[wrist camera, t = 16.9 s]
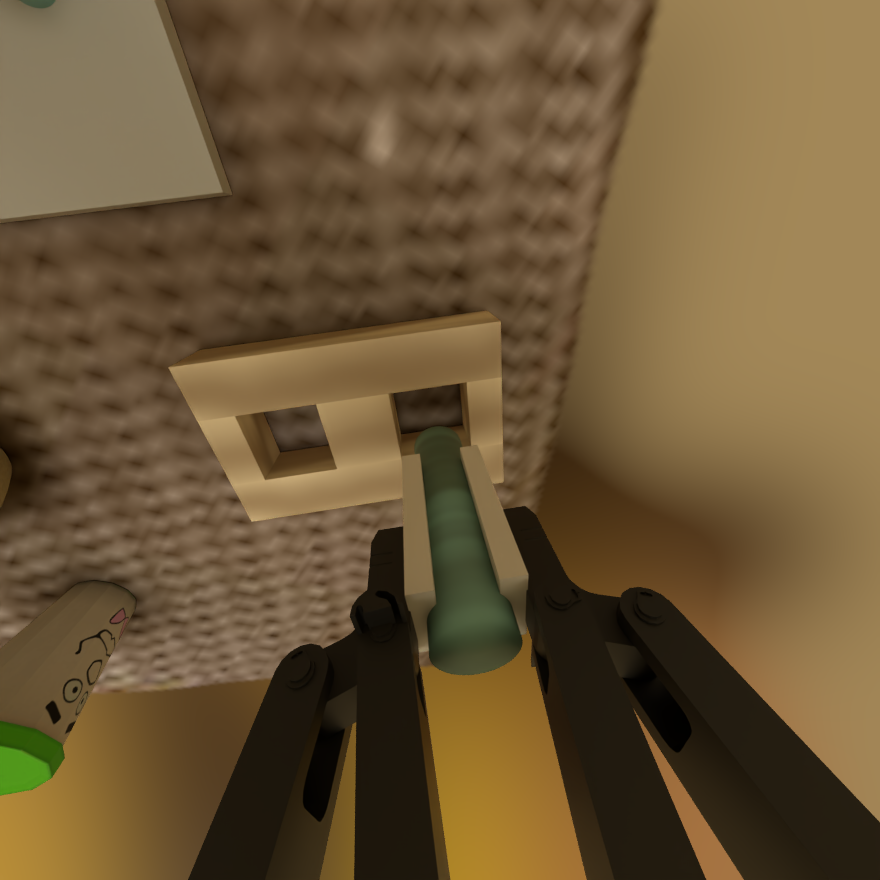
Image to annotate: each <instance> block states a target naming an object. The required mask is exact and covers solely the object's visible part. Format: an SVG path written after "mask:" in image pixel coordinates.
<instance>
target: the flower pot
mask: <svg viewBox="0 0 880 880" xmlns="http://www.w3.org/2000/svg"><path fill="white" fill-rule="evenodd" d="M11 475H12V466H11V463H10V461H9V459H8V457H7V455H6V454H5V453H4V451H3V450H2V449H1V448H0V508H1V506H2V504H3V502H4V499H5V496H6V493H7V491H8V487H9V484H10V480H11Z"/></svg>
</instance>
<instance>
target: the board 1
mask: <svg viewBox="0 0 880 880" xmlns="http://www.w3.org/2000/svg"><path fill="white" fill-rule="evenodd" d="M228 195H232V192H231V189H230V186H229V183H228V180H227V177H226V174H225V171H224V169H223V166H222V163H221V160H220V157H219V154H218V151H217V148H216V146H215V143H214V140H213V137H212V134H211V131H210V128H209V125H208V122H207V120H206V117H205V114H204V111H203V108H202V105H201V102H200V99H199V96H198V94H197V91H196V88H195V85H194V82H193V79H192V76H191V73H190V71H189V68H188V65H187V62H186V59H185V56H184V53H183V50H182V47H181V45H180V42H179V39H178V36H177V33H176V30H175V27H174V24H173V21H172V19H171V16H170V13H169V10H168V7H167V4H166V1H165V0H0V223H7V222H15V221H23V220H31V219H39V218H48V217H56V216H64V215H72V214H80V213H89V212H97V211H105V210H113V209H122V208H130V207H138V206H146V205H154V204H163V203H171V202H179V201H187V200H196V199H204V198H212V197H220V196H228Z"/></svg>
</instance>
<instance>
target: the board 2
mask: <svg viewBox="0 0 880 880" xmlns="http://www.w3.org/2000/svg"><path fill="white" fill-rule="evenodd" d="M168 368H169V370H170V372H171V374H172V375H173V377H174V379H175V381H176V383H177V385H178V386H179V388H180V390H181V392H182V394H183V396H184V398H185V399H186V401H187V403H188V405H189V407H190V409H191V410H192V412H193V414H194V416H195V418H196V420H197V422H198V423H199V425H200V427H201V429H202V431H203V433H204V434H205V436H206V438H207V440H208V442H209V444H210V445H211V447H212V449H213V451H214V453H215V455H216V457H217V458H218V460H219V462H220V464H221V466H222V468H223V469H224V471H225V473H226V475H227V477H228V479H229V481H230V482H231V484H232V486H233V488H234V490H235V492H236V493H237V495H238V497H239V499H240V501H241V503H242V505H243V506H244V508H245V510H246V512H247V514H248V516H249V517H250V519H251V521H252V522H253V521H259V520H265V519H272V518H278V517H284V516H291V515H297V514H303V513H310V512H316V511H323V510H329V509H335V508H342V507H348V506H354V505H361V504H367V503H373V502H380V501H386V500H392V499H399V498H403V487H402V456H408V455H414V454H415V452H414V445H415V441H416V439H417V437H418V436H419V435H420V434H421V433H422V432H423V431H421V432H414V433H407V434H401V432H400V427H399V422H398V417H397V411H396V406H395V401H394V396H393V393H397V392H404V391H411V390H418V389H424V388H431V387H438V386H445V385H452V384H459V383H460V394H461V406H462V418H463V425H460V426H454V427H448V428H450V429H452V430H453V431H455V432H456V433H457V434H458V436H459V438H460V440H461V443H462V446H463V447H467V446H473V445H478V448H479V450H480V453H481V455H482V458H483V460H484V463H485V466H486V468H487V471H488V473H489V476H490V478H491V481H492V483H493V484H494V483H501V482H504V479H503V421H502V363H501V321H500V320H499V319H497V318H496V317H495V316H493V315H492V314H491V313H490V312H488V311H487V310H486V311H479V312H472V313H465V314H457V315H450V316H443V317H436V318H428V319H421V320H414V321H407V322H399V323H392V324H385V325H378V326H370V327H363V328H356V329H349V330H341V331H334V332H327V333H320V334H312V335H305V336H298V337H291V338H283V339H276V340H269V341H262V342H254V343H247V344H240V345H233V346H225V347H218V348H211V349H204V350H199V351H197V352H195V353H194V354H192V355H190V356H188V357H186V358H185V359H183V360H181V361H179V362H177V363H176V364H174V365H172V366H170V367H168ZM315 404H316V406H317V409H318V412H319V415H320V418H321V421H322V424H323V427H324V430H325V434H326V437H327V440H328V443H329V445H327V446H321V447H314V448H307V449H301V450H294V451H287V452H281V453H280V451H279V448H278V446H277V444H276V441H275V439H274V437H273V434H272V432H271V429H270V427H269V425H268V422H267V420H266V418H265V415H264V413H263V412H266V411H273V410H280V409H287V408H294V407H301V406H308V405H315Z"/></svg>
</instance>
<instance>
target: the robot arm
mask: <svg viewBox="0 0 880 880" xmlns="http://www.w3.org/2000/svg"><path fill="white" fill-rule="evenodd" d="M460 455H461V461H462V464H463V468H464V471H465V475H466V478H467V482H468V485H469V488H470V492H471V495H472V499H473V502H474V506H475V509H476V513H477V516H478V519H479V523H480V526H481V530H482V533H483V537H484V540H485V543H486V547H487V550H488V554H489V557H490V561H491V564H492V567H493V571H494V574H495V578H496V581H497V585H498V588H499V591H500V594H501V595H503V596H505V597H506V598H507V599H508V600H509V601H510V603H511V605H512V608H513V611H514V614H515V617H516V620H517V624H518V627H519V630H520V633H521V635H523V634H526V631H527V627H528V630H529V633H530V636H531V639H532V653H531V666H532V667H535V666H536V671H537V675H538V679H539V683H540V687H541V691H542V695H543V700H544V704H545V708H546V712H547V716H548V720H549V724H550V729H551V733H552V737H553V741H554V745H555V749H556V753H557V757H558V762H559V766H560V770H561V774H562V778H563V783H564V787H565V791H566V795H567V799H568V803H569V807H570V811H571V816H572V820H573V824H574V828H575V833H576V837H577V841H578V845H579V849H580V853H581V857H582V862H583V866H584V870H585V874H586V878H587V880H706V878H705V876H704V874H703V871H702V869H701V866H700V864H699V862H698V859H697V857H696V855H695V852H694V850H693V848H692V845H691V843H690V841H689V838H688V836H687V834H686V831H685V829H684V827H683V824H682V822H681V820H680V818H679V815H678V813H677V810H676V808H675V805H674V803H673V801H672V799H671V796H670V794H669V792H668V789H667V787H666V784H665V782H664V780H663V777H662V775H661V773H660V771H659V768H658V766H657V763H656V761H655V759H654V757H653V754H652V752H651V749H650V747H649V745H648V742H647V740H646V738H645V735H644V733H643V731H642V728H641V726H640V724H639V721H638V719H637V717H636V714H635V712H634V710H635V711H636V713H637V715H638V716H639V718H640V719H641V721H642V723H643V724H644V726H645V727H646V729H647V730H648V732H649V733H650V735H651V736H652V738H653V740H654V741H655V743H656V744H657V746H658V747H659V749H660V750H661V752H662V753H663V755H664V757H665V758H666V760H667V761H668V763H669V764H670V766H671V767H672V769H673V771H674V772H675V773H676V775H677V777H678V778H679V780H680V781H681V783H682V784H683V786H684V788H685V789H686V791H687V792H688V794H689V795H690V797H691V798H692V800H693V801H694V803H695V805H696V806H697V808H698V809H699V811H700V812H701V814H702V815H703V817H704V819H705V820H706V822H707V823H708V825H709V826H710V828H711V829H712V831H713V832H714V834H715V835H716V837H717V838H718V840H719V842H720V843H721V845H722V846H723V848H724V849H725V851H726V853H727V854H728V855H729V857H730V859H731V860H732V862H733V863H734V865H735V866H736V868H737V870H738V871H739V873H740V874H741V876H742V877H743V879H744V880H880V822H879V821H878V820H877V819H876V818H875V817H874V816H873V815H872V814H871V813H870V812H869V810H868V809H867V808H866V807H865V806H864V805H863V804H862V803H861V802H860V801H859V800H858V799H857V798H856V797H855V796H854V795H853V794H852V793H851V792H850V790H849V789H848V788H847V787H846V786H845V785H844V784H843V783H842V782H841V781H840V780H839V779H838V778H837V777H836V776H835V775H834V774H833V773H832V771H831V770H830V769H829V768H828V767H827V766H826V765H825V764H824V763H823V762H822V761H821V760H820V759H819V758H818V757H817V756H816V755H815V754H814V753H813V752H812V750H811V749H810V748H809V747H808V746H807V745H806V744H805V743H804V742H803V741H802V740H801V739H800V738H799V737H798V736H797V735H796V734H795V732H794V731H793V730H792V729H791V728H790V727H789V726H788V725H787V724H786V723H785V722H784V721H783V720H782V719H781V718H780V717H779V716H778V715H777V714H776V712H775V711H774V710H773V709H772V708H771V707H770V706H769V705H768V704H767V703H766V702H765V701H764V700H763V699H762V698H761V697H760V696H759V695H758V694H757V692H756V691H755V690H754V689H753V688H752V687H751V686H750V685H749V684H748V683H747V682H746V681H745V680H744V679H743V678H742V677H741V676H740V674H738V672H737V671H736V670H735V669H734V668H733V667H732V666H731V665H730V664H729V663H728V662H727V661H726V660H725V659H724V658H723V657H722V656H721V655H720V654H719V652H718V651H717V650H716V649H715V648H714V647H713V646H712V645H711V644H710V643H709V642H708V641H707V640H706V639H705V638H704V637H703V636H702V634H701V633H700V632H699V631H698V630H697V629H696V628H695V627H694V626H693V625H692V624H691V623H690V622H689V621H688V620H687V619H686V618H685V616H684V615H683V614H682V613H681V612H680V611H679V610H678V609H677V608H676V607H675V606H674V605H673V604H672V603H671V602H670V601H669V600H667V599H666V598H665V597H664V596H663V595H661V594H659V593H657V592H655V591H653V590H651V589H646V588H642V587H636V588H629V589H628V590H626V591H624V592H623V593H622V595H621V597H613V596H606V595H598V594H594V593H590V592H587V591H585V590H583V589H581V588H579V587H578V586H577V585H575V584H574V583H573V582H572V581H571V580H570V579H569V578H568V577H567V575H566V573H565V571H564V570H563V567H562V566H561V564H560V562H559V560H558V558H557V556H556V554H555V552H554V550H553V548H552V546H551V544H550V542H549V540H548V539H547V536H546V534H545V532H544V530H543V529H542V526H541V524H540V522H539V520H538V518H537V516H536V515H535V514H534V513H533V512H532V511H531V510H529V509H528V508H527V507H526V506H522V507H516V508H510V509H502V506H501V504H500V501H499V499H498V496H497V493H496V491H495V488H494V486H493V483H492V481H491V478H490V476H489V473H488V471H487V468H486V466H485V463H484V460H483V458H482V455H481V453H480V450H479V448H478V445H473V446H467V447H460ZM402 487H403V526H402V527H396V528H390V529H384V530H378V532H377V534H376V535H375V537H374V539H373V541H372V543H371V558H370V568H369V578H368V589H367V591H365V592H364V593H363V594H362V595H361V596H359V597H358V598H357V600H356V601H355V603H354V604H353V606H352V609H351V613H350V618H351V620H352V623H353V625H354V628H355V630H354V631H353V632H352V633H351V634H350V635H348V636H346V637H345V638H343V639H342V640H340V641H338V642H336V643H334V644H332V645H330V646H328V647H326V648H324V649H323V648H322V647H321V646H320V645H315V644H307V645H302V646H300V647H298V648H296V649H294V650H293V651H291V652H290V653H289V654H288V655H287V656H286V657H285V658H284V659H283V660H282V661H281V662H280V664H279V666H278V667H277V669H276V671H275V673H274V675H273V678H272V680H271V683H270V685H269V687H268V690H267V692H266V695H265V697H264V699H263V702H262V704H261V706H260V709H259V711H258V714H257V716H256V719H255V721H254V723H253V726H252V728H251V730H250V733H249V735H248V737H247V740H246V743H245V745H244V747H243V749H242V752H241V754H240V757H239V759H238V761H237V764H236V766H235V769H234V771H233V774H232V776H231V778H230V781H229V783H228V785H227V788H226V791H225V793H224V795H223V797H222V800H221V802H220V805H219V807H218V809H217V812H216V814H215V817H214V819H213V821H212V824H211V826H210V829H209V831H208V833H207V836H206V838H205V840H204V843H203V845H202V848H201V850H200V852H199V855H198V857H197V860H196V862H195V865H194V867H193V869H192V872H191V874H190V877H189V879H188V880H319V878H320V874H321V869H322V864H323V860H324V855H325V850H326V846H327V841H328V836H329V832H330V827H331V822H332V818H333V812H334V808H335V804H336V799H337V794H338V790H339V784H340V780H341V776H342V770H343V766H344V762H345V757H346V752H347V748H348V743H349V738H350V733H351V728H352V724H353V723H355V722H356V790H355V791H356V792H355V863H354V864H355V866H354V867H355V868H354V880H450V875H449V868H448V860H447V853H446V846H445V838H444V831H443V824H442V817H441V809H440V803H439V795H438V789H437V780H436V773H435V766H434V759H433V751H432V744H431V738H430V730H429V723H428V715H427V709H426V701H425V694H424V686H423V680H422V672H421V669H420V665H419V652H425V651H429V647H428V633H427V617H428V614H429V612H430V611H431V609H432V608H433V607H434V606H435V605H436V594H435V585H434V576H433V566H432V557H431V548H430V538H429V529H428V520H427V510H426V501H425V492H424V482H423V473H422V464H421V458H420V454H414V455H408V456H402ZM418 648H419V650H418Z"/></svg>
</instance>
